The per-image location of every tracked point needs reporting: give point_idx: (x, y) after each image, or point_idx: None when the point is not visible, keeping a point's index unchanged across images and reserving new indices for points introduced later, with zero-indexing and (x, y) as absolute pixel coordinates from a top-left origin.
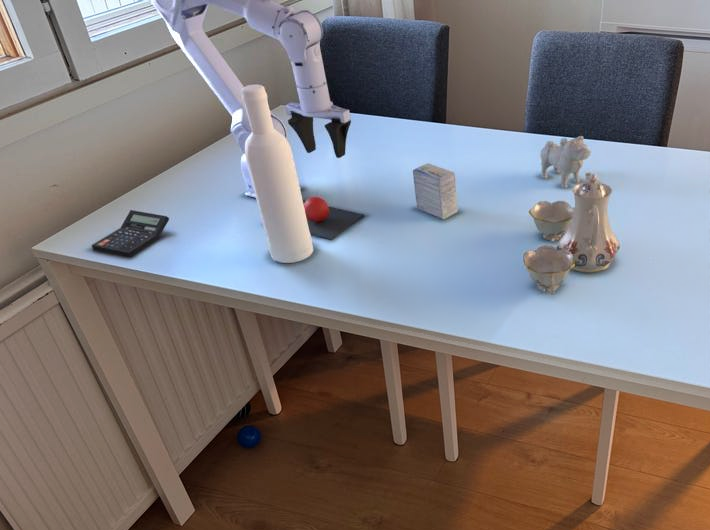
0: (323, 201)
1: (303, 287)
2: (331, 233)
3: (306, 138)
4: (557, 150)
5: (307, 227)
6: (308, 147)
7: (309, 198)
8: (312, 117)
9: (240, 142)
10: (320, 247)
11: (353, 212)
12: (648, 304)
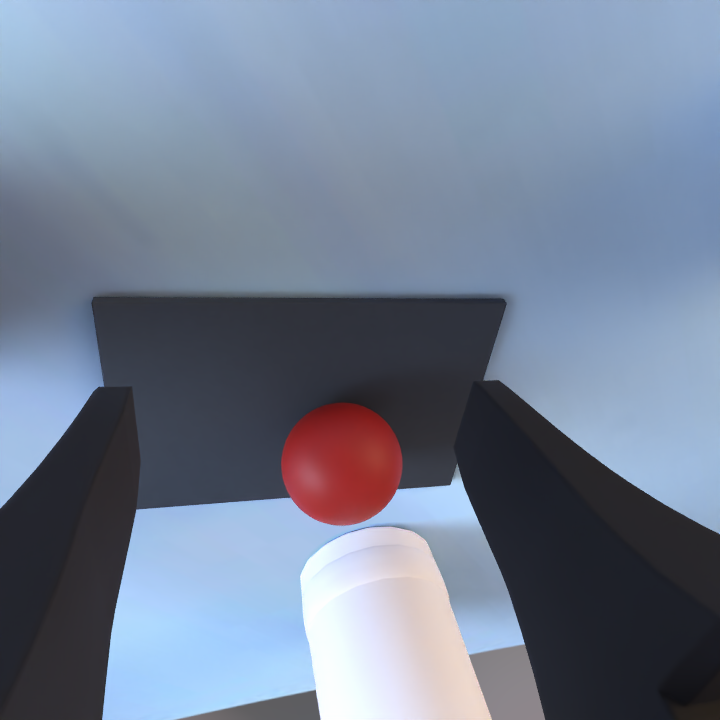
0: (393, 478)
1: (484, 625)
2: (438, 464)
3: (112, 576)
4: None
5: (457, 627)
6: (131, 498)
7: (330, 513)
8: (22, 678)
9: None
10: (435, 517)
11: (449, 308)
12: None
